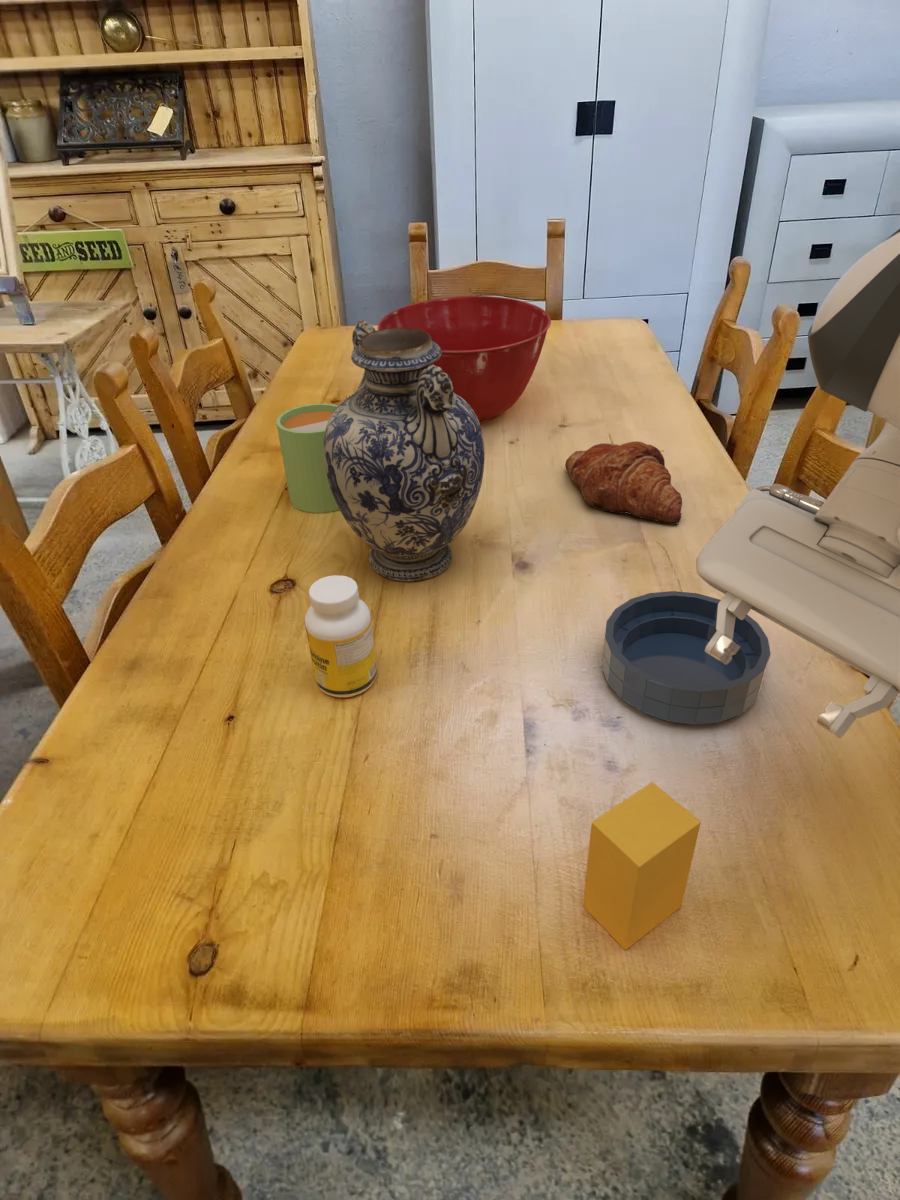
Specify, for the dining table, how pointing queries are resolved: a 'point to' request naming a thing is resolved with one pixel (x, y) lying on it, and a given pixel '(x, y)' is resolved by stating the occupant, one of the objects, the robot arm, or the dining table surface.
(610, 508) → the pastry
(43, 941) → the dining table surface
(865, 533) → the robot arm
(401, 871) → the dining table surface
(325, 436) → the decorative vase
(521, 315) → the mixing bowl
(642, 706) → the bowl
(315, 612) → the pill bottle
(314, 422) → the mug
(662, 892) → the yellow rectangular block
